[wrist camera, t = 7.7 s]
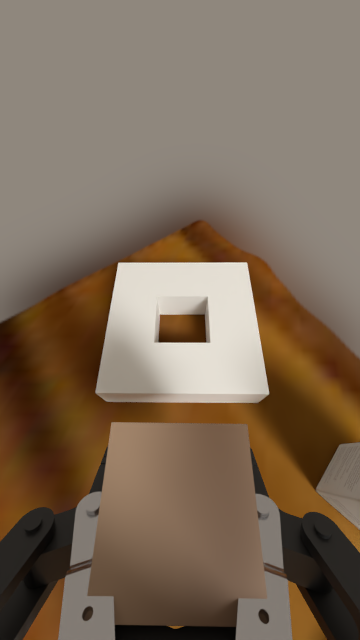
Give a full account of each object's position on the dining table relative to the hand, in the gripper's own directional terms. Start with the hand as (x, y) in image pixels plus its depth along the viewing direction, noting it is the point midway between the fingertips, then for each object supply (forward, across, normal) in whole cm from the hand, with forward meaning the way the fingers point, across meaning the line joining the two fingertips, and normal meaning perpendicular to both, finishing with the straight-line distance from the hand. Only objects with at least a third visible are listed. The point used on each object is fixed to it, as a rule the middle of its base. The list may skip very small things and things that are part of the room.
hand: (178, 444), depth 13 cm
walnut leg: (+3, 0, +6) cm, 6 cm away
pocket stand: (+21, 0, +1) cm, 21 cm away
